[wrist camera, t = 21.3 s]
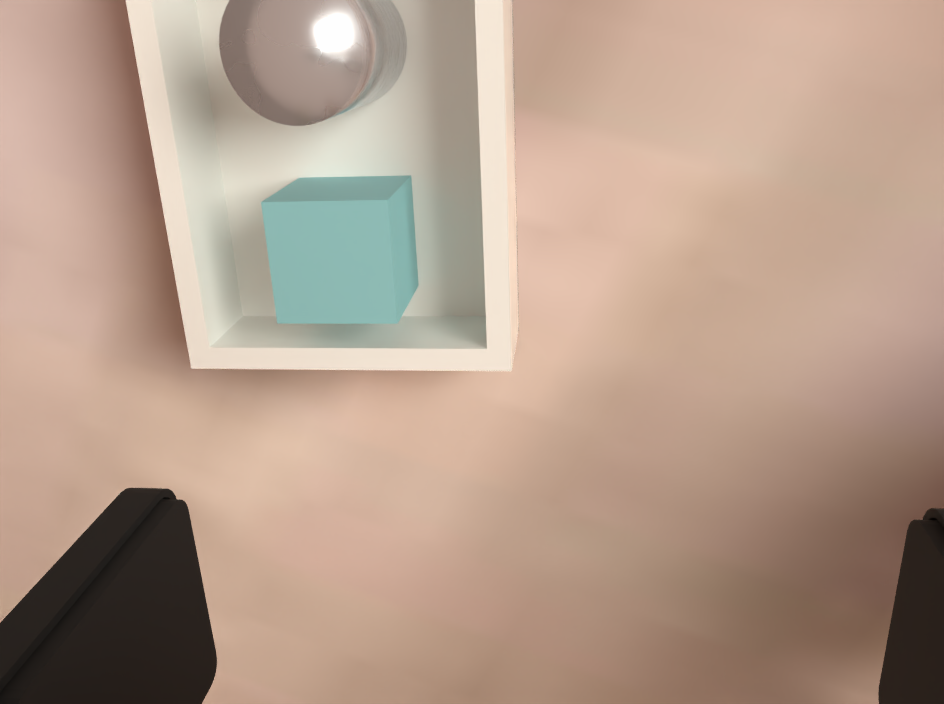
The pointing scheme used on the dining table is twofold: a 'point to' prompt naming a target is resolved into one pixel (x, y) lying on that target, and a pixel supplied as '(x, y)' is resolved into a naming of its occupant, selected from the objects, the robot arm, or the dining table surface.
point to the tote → (340, 155)
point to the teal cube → (342, 249)
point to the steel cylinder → (311, 55)
